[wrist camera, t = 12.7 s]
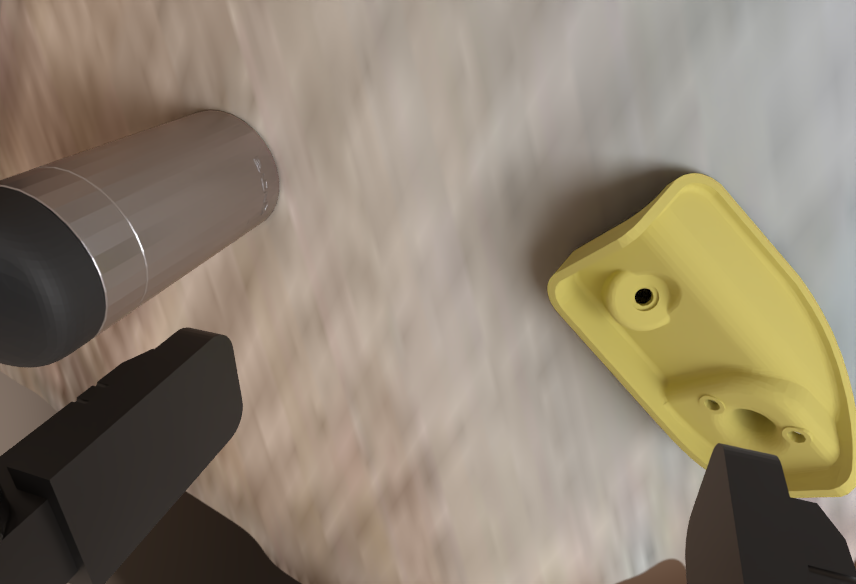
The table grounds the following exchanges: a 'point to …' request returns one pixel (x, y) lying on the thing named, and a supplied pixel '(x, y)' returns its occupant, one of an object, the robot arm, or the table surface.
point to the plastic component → (715, 335)
